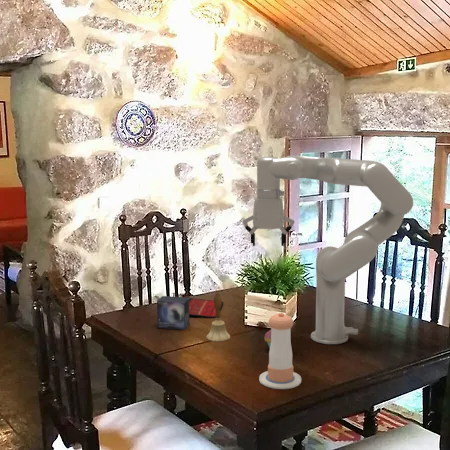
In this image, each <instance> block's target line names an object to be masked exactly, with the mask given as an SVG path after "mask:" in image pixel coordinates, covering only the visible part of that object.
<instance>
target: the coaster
mask: <svg viewBox="0 0 450 450" xmlns="http://www.w3.org/2000/svg"><path fill="white" fill-rule="evenodd" d="M258 378H259V379H258V380H259V383H260V384H261V385H262V386H264V387H266V388H269V389H273V390H289V389H293V388H297V387H298V386H300V385H301V383H302V377H301V375H300V374H298V373H297V372H295V371H293V379H292V380H291V381H288V382H275V381H272V380H270V379H269V378H268V370H267V371H264V372H262V373H261V374H259V377H258Z"/></svg>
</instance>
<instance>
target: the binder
mask: <svg viewBox="0 0 450 450" xmlns="http://www.w3.org/2000/svg"><path fill="white" fill-rule="evenodd" d="M188 298H189V319H216V310H215V306H214V300H210V299H203V298H193V297H191V298H190V297H188ZM223 305H224V301H222V300H221V308H220V310H221V309H222V307H223Z"/></svg>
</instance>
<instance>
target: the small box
mask: <svg viewBox="0 0 450 450" xmlns="http://www.w3.org/2000/svg"><path fill="white" fill-rule="evenodd" d="M189 298H190V297H185V296H184V297H183V296H182V297H181V296H167V295H161V297H159V298H158V299H157V300H156V309H157V310H156V311H157V316H156V317H157V328H158V329H166V330H167V329H170V330H178V331H181V330H182V331H185V330H187V328H188V327H189V326H190V324H191V323H190V318H189Z"/></svg>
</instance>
